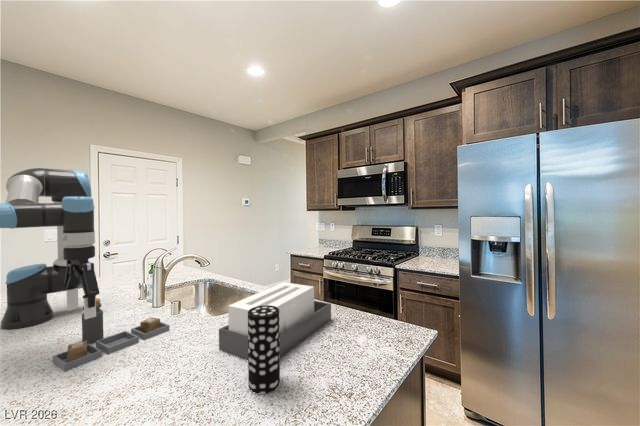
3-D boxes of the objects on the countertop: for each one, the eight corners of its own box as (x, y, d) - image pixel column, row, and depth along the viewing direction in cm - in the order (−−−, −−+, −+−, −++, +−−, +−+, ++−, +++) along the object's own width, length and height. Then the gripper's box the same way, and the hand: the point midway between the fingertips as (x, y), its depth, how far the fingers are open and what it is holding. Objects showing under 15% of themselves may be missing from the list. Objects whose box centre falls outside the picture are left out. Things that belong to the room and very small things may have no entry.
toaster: (267, 363, 86) (266, 314, 86) (228, 351, 93) (228, 305, 93) (319, 321, 117) (319, 284, 117) (287, 314, 124) (287, 280, 124)
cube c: (68, 359, 88) (68, 344, 88) (87, 354, 91) (86, 340, 90) (67, 365, 84) (67, 350, 84) (87, 360, 87) (86, 345, 87)
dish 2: (95, 348, 95) (95, 341, 95) (125, 337, 103) (125, 330, 103) (108, 355, 91) (108, 348, 90) (139, 343, 98) (138, 336, 98)
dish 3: (131, 335, 105) (130, 328, 105) (156, 326, 113) (155, 320, 113) (144, 341, 100) (144, 334, 100) (169, 331, 108) (169, 325, 108)
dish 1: (52, 364, 86) (52, 356, 86) (89, 350, 94) (89, 343, 94) (64, 373, 81) (64, 364, 81) (102, 358, 89) (101, 350, 89)
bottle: (91, 346, 96) (90, 303, 96) (78, 345, 98) (76, 302, 97) (107, 338, 102) (106, 298, 102) (94, 337, 103) (93, 297, 103)
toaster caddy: (219, 349, 94) (218, 329, 94) (290, 311, 128) (290, 295, 128) (266, 368, 83) (266, 344, 83) (331, 320, 118) (330, 303, 117)
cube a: (140, 334, 105) (140, 321, 105) (150, 328, 109) (150, 317, 109) (150, 335, 103) (149, 323, 103) (160, 330, 108) (159, 318, 108)
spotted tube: (251, 375, 80) (250, 305, 79) (280, 374, 80) (280, 304, 80) (246, 395, 71) (245, 317, 71) (279, 393, 72) (278, 316, 71)
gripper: (49, 244, 91) (51, 309, 91) (80, 250, 78) (82, 326, 78) (78, 242, 97) (80, 302, 98) (111, 247, 84) (113, 317, 85)
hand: (81, 313), depth 88 cm, fingers open, 13 cm apart
